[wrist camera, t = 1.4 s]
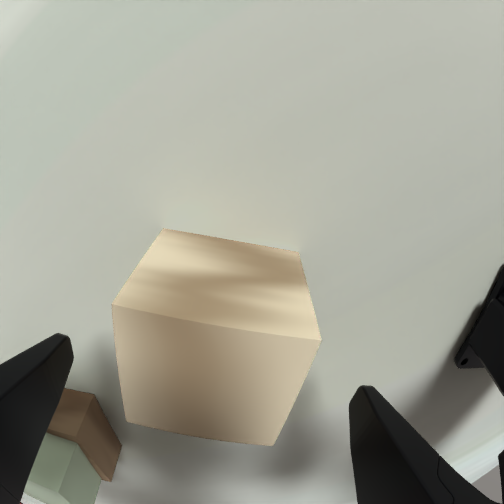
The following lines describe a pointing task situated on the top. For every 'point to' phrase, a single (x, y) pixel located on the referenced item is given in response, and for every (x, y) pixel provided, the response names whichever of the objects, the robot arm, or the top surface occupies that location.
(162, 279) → the maple cube
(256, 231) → the top surface
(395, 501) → the robot arm
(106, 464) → the walnut base block
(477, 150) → the top surface
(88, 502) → the sage block
